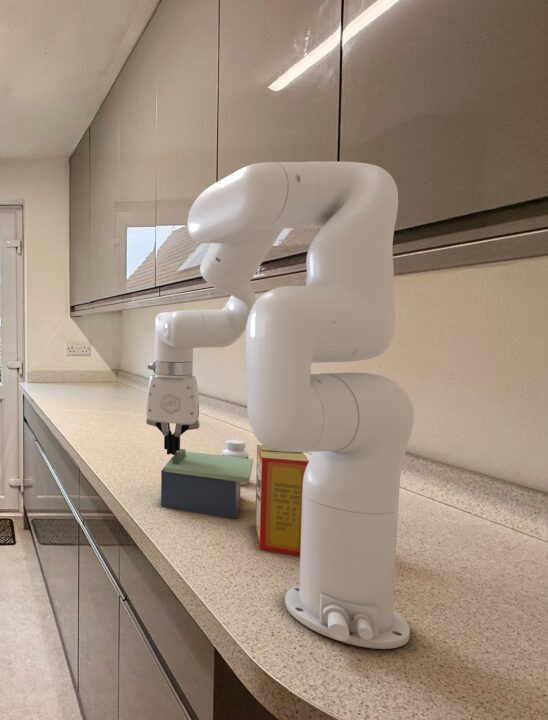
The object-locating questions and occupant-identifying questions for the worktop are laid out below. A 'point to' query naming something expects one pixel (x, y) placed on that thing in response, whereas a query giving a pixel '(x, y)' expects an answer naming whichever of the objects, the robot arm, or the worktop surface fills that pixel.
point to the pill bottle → (235, 450)
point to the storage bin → (200, 494)
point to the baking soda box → (279, 499)
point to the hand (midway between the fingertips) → (172, 453)
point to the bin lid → (210, 466)
